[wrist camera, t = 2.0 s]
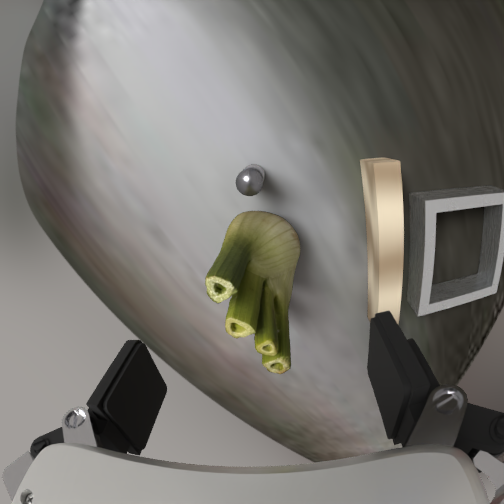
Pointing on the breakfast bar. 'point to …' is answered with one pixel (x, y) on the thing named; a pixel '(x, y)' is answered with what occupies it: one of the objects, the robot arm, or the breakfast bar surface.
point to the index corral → (423, 247)
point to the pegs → (250, 180)
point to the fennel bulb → (258, 283)
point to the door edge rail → (384, 234)
